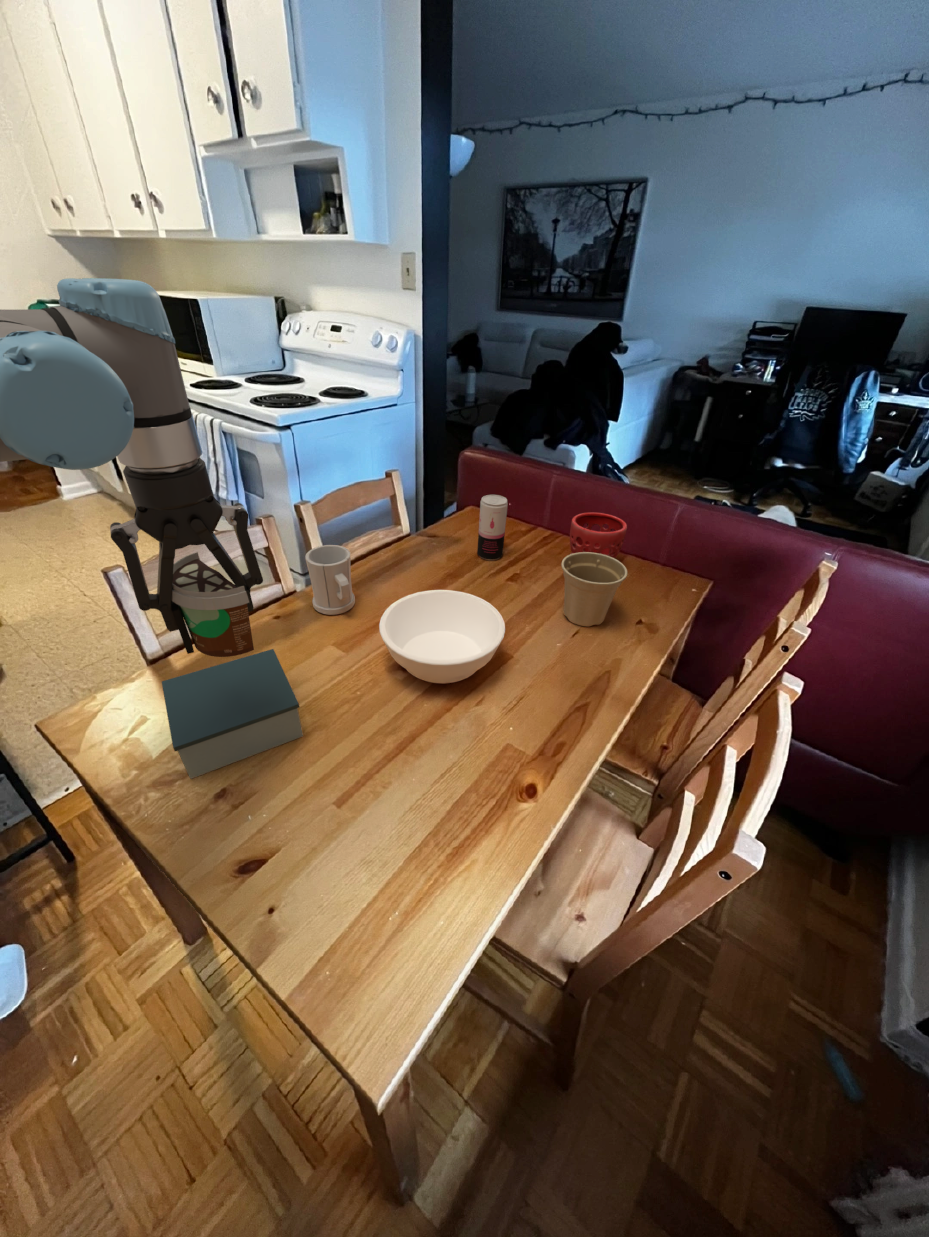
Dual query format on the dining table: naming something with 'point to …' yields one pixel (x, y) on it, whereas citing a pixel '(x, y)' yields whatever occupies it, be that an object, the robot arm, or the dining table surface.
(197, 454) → the robot arm
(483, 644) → the bowl
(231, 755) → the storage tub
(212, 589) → the food container
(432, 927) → the dining table surface
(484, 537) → the beverage can
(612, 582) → the flower pot
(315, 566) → the cup
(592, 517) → the flower pot
